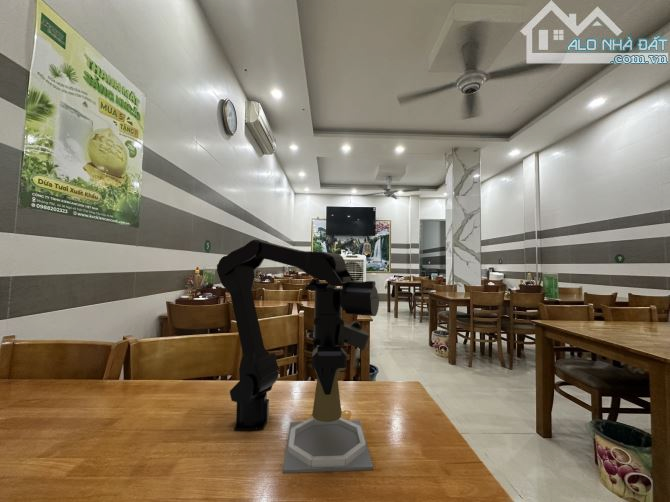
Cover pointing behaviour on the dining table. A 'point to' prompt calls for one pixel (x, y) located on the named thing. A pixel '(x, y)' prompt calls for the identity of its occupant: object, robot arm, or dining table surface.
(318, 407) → the olive brown pawn
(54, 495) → the dining table surface
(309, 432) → the collar plate
